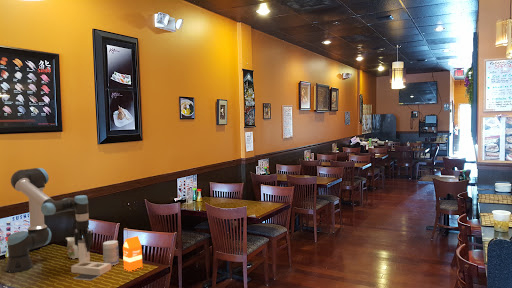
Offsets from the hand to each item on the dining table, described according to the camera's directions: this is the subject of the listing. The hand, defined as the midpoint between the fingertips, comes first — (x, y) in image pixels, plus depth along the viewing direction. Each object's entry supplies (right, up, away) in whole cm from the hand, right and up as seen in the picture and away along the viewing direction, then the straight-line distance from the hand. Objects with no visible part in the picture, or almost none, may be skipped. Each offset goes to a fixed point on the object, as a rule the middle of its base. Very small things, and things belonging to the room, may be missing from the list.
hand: (84, 256), depth 245 cm
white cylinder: (0, -3, 0) cm, 3 cm away
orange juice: (+31, -8, +1) cm, 32 cm away
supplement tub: (+13, -8, +11) cm, 19 cm away
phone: (+7, -10, -12) cm, 17 cm away
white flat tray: (+5, -9, -1) cm, 10 cm away
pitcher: (-17, -9, +27) cm, 33 cm away
